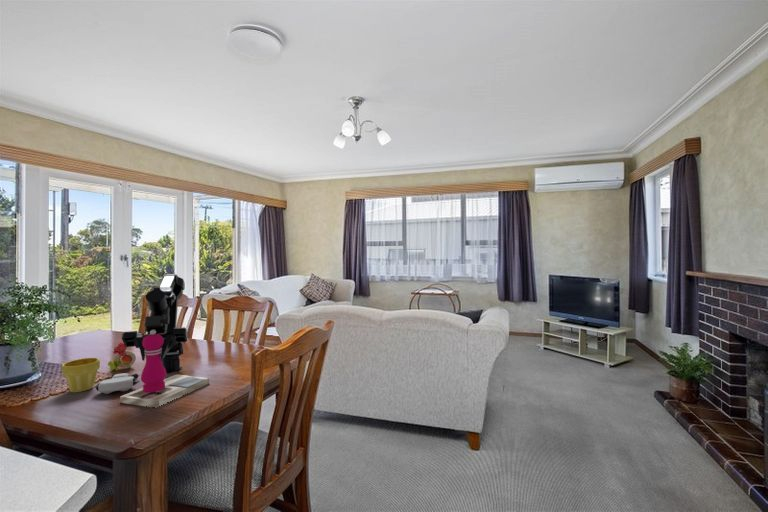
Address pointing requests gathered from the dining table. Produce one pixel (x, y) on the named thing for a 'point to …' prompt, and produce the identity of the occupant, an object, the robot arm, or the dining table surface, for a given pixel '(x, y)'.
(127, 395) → the puzzle board
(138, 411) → the dining table surface
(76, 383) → the plant pot
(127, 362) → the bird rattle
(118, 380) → the robot toy
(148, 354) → the pepper mill
